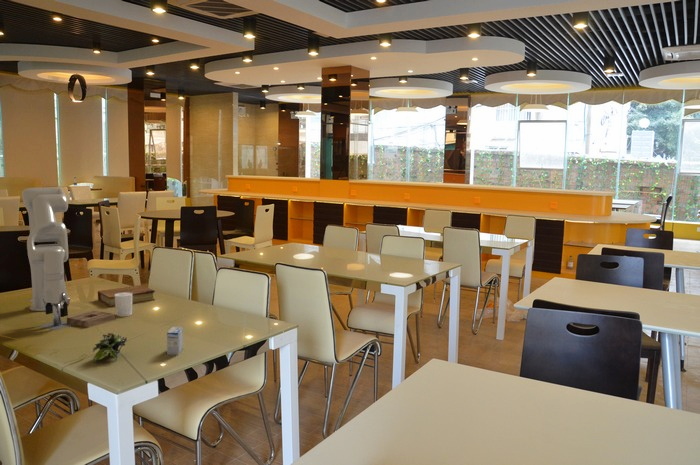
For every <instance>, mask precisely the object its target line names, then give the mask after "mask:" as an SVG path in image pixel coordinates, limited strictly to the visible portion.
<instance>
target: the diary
mask: <svg viewBox="0 0 700 465" xmlns="http://www.w3.org/2000/svg"><path fill="white" fill-rule="evenodd" d="M125 292H128V293H132V305H133V304H139V303H145V302H146V301H147V302H152V301H156V299H155V298H154V293H155V290H154V289H152V288H149V287H147V286H145V285H142V284H139V285H133V286H125V287H117V288H110V289H104V290H98V291H97V300H98V301H99V302H100V303H102V304H103V305H106V307H109V308H116V306H115V294H117V293H125ZM147 302H146V303H147Z"/></svg>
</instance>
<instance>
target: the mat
mask: <svg viewBox="0 0 700 465" xmlns="http://www.w3.org/2000/svg"><path fill="white" fill-rule="evenodd" d="M72 326H75V325H74V324H69V323H67V321H62V320H61V325H60V326H53V321H52V322H48V323H44V324H42V325H41V324H40V325H38V327H39V328H45V329H48V330H49V329H50V330H54V331H57V330H61V329H65V328H68V327H72Z"/></svg>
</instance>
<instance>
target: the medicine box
mask: <svg viewBox="0 0 700 465" xmlns="http://www.w3.org/2000/svg"><path fill="white" fill-rule="evenodd" d="M166 349H167V350H166V352H167V355H168V356H169V355H170V356H171V355H180V353H181V352H182V350H183V349H184V327H183V326H172V327H170V329H168V331H167V332H166Z"/></svg>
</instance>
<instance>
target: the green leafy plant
mask: <svg viewBox="0 0 700 465" xmlns="http://www.w3.org/2000/svg"><path fill="white" fill-rule="evenodd" d="M102 336H103V337H102V338H100V339H99V342H97V343H95V344H94V345H95V346H93V347H92V349H93V350H92V353H94V352H95V351H97V350H98V351H97V352H96V354H95V355H94V356H93V358H92V361H93V362H94V363H95V362H96V361H97V360H98V361H101V360H103V359H104V358H105V357H106V356H111V357H113V358H114V359H115V361H117V360H118V359H117V358H118V356H119V353H120V351H121V349H122V347H124V346H126V342H127V337H125V336H121V335H119V334H116V333H114V332H112V333H111V332H108V333H105V334H103V335H102Z"/></svg>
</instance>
